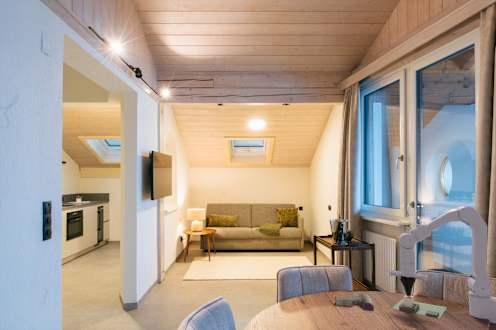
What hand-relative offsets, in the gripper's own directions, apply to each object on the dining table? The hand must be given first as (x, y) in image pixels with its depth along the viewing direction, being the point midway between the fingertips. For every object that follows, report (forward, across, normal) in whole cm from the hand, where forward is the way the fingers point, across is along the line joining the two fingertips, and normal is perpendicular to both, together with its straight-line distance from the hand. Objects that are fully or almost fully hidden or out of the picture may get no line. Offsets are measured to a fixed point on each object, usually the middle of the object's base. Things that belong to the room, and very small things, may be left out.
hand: (408, 295), depth 144 cm
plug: (+6, 0, 0) cm, 6 cm away
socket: (+6, 0, 0) cm, 6 cm away
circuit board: (+6, +3, +4) cm, 8 cm away
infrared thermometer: (+7, -20, -9) cm, 23 cm away
